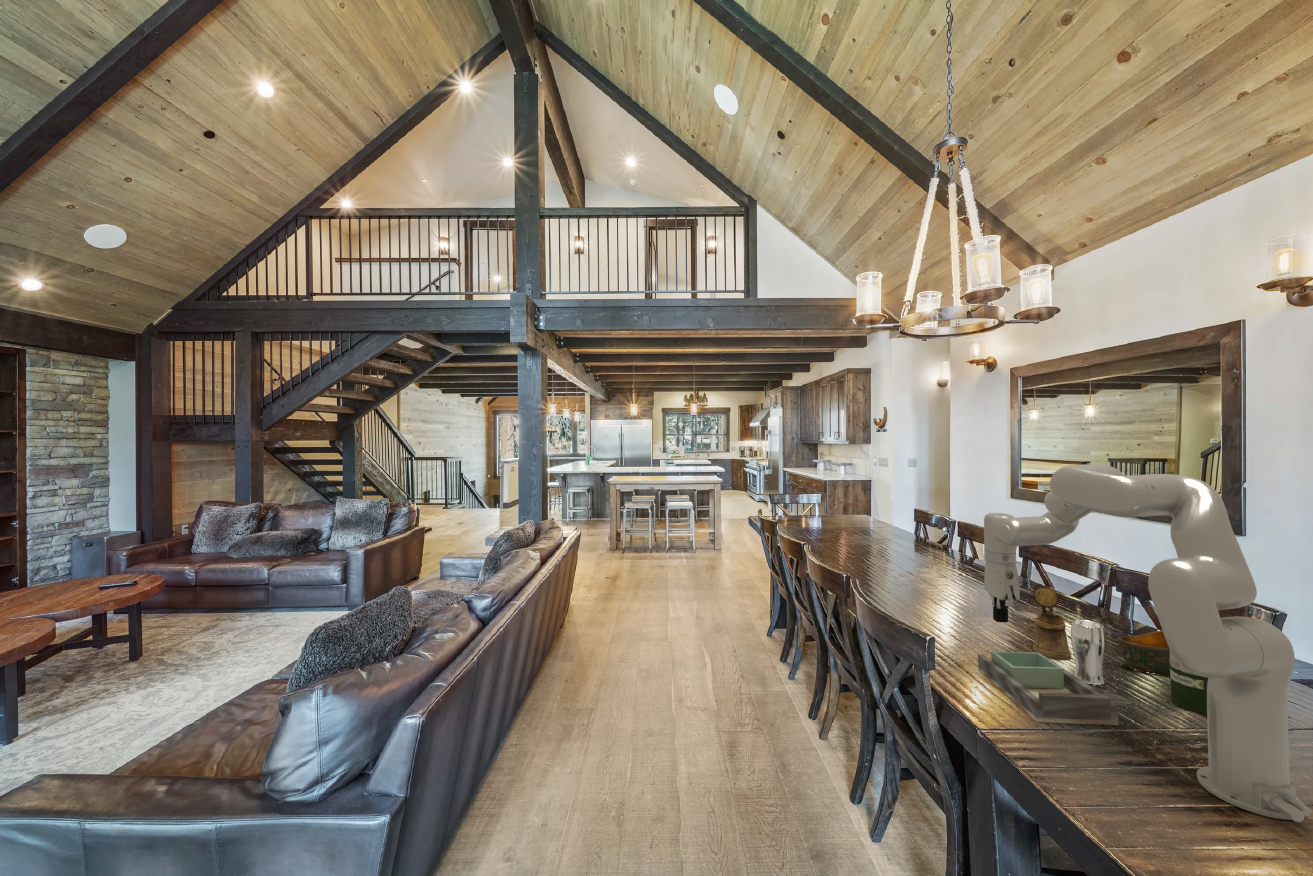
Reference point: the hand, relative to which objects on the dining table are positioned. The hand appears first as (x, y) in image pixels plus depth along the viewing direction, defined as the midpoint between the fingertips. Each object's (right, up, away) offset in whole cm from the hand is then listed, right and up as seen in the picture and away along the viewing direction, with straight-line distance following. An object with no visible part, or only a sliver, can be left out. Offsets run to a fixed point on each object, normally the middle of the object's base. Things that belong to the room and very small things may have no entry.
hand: (1000, 621), depth 145 cm
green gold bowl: (+41, -12, -5) cm, 43 cm away
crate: (-1, -11, -11) cm, 16 cm away
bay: (-2, -12, -17) cm, 21 cm away
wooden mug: (+21, -12, +8) cm, 25 cm away
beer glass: (+16, -12, -11) cm, 23 cm away
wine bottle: (+30, -12, -24) cm, 40 cm away
